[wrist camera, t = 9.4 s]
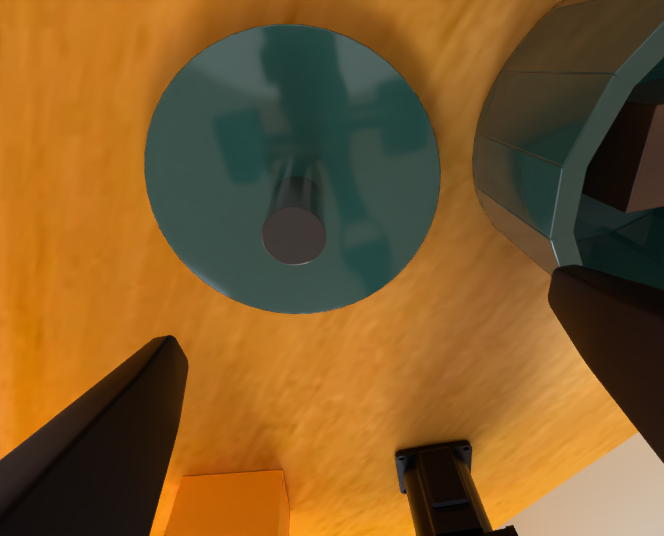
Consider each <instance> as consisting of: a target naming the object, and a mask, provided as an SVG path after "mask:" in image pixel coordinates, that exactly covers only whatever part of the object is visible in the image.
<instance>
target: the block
mask: <svg viewBox="0 0 664 536" xmlns="http://www.w3.org/2000/svg"><path fill="white" fill-rule="evenodd" d="M582 194H585V195H587V196H589V197H591V198H593V199H595V200H597V201H600V202H602V203H604V204H606V205H608V206H610V207H613V208H615V209H617V210H619V211H621V212H623V213H632V212H637V211H642V210H647V209H653V208H658V207H663V206H664V79H659V80H654V81H650V82H645V83H640V84H637V85H636V86H635V87H634V88H633V90H632V91H631V93H630V95H629V96H628V98H627V100H626V102H625V103H624V105H623V107H622V108H621V110H620V112H619V113H618V115H617V117H616V119H615V120H614V122H613V124H612V125H611V127H610V129H609V131H608V132H607V134H606V136H605V137H604V139H603V141H602V142H601V144H600V146H599V148H598V149H597V151H596V153H595V154H594V156H593V158H592V160H591V161H590V163H589V165H588V166H587V170H586V174H585V179H584V184H583V189H582Z"/></svg>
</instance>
